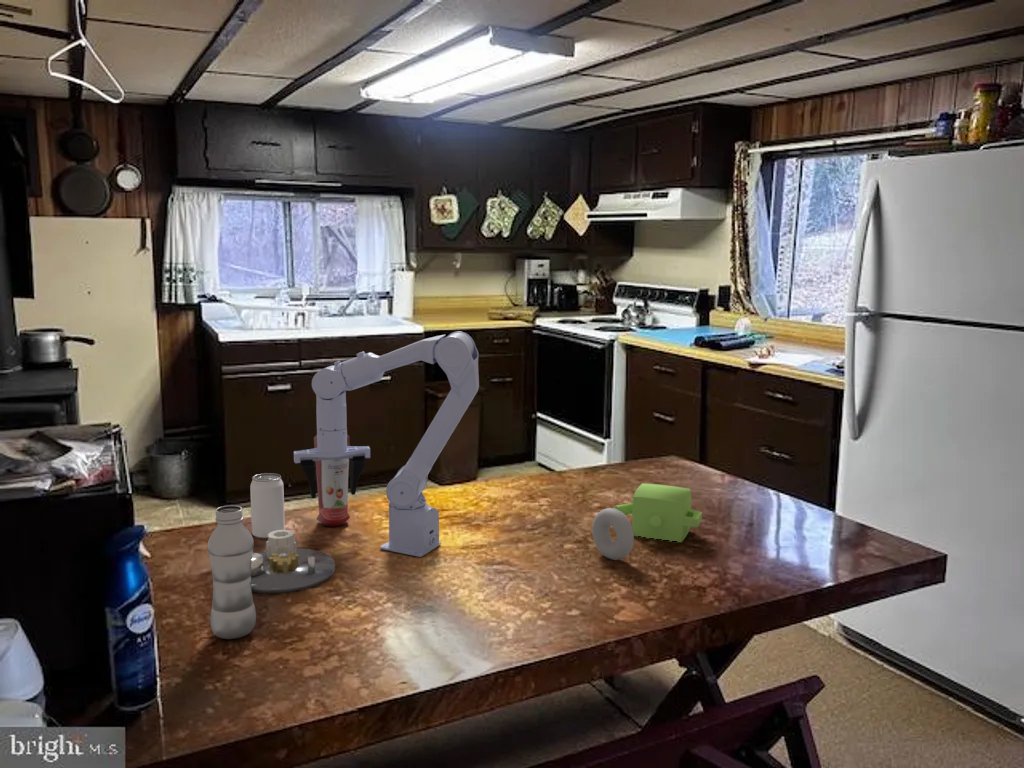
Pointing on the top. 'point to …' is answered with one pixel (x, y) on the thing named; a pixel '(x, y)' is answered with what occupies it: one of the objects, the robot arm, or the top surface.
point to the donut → (621, 529)
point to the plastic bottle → (231, 575)
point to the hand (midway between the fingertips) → (333, 495)
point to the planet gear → (280, 542)
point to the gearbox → (661, 512)
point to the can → (267, 504)
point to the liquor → (332, 490)
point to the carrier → (290, 571)
